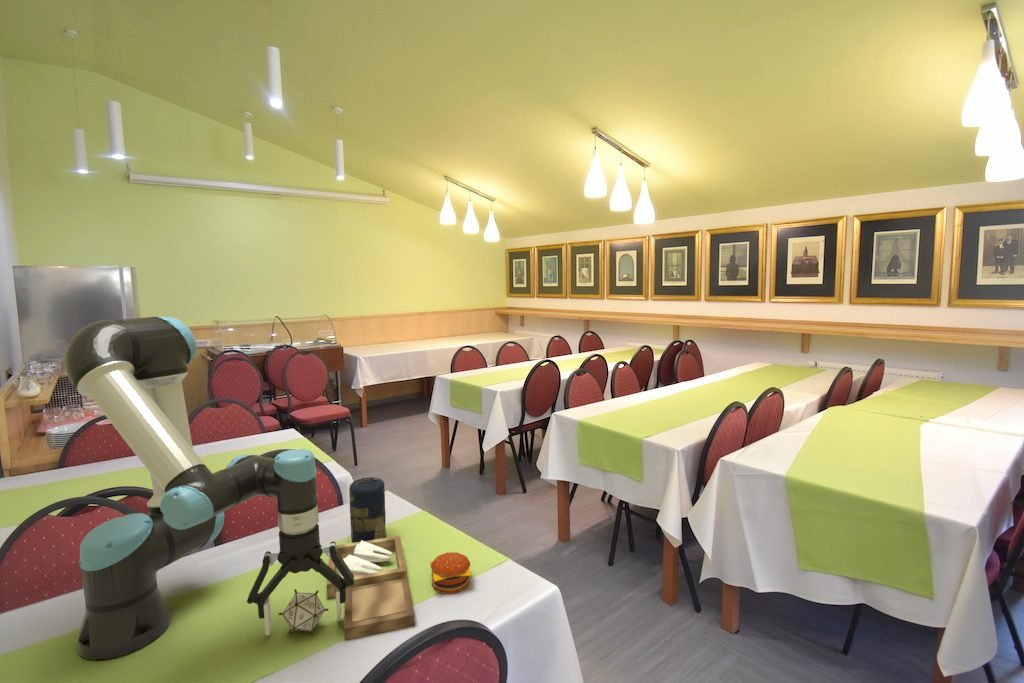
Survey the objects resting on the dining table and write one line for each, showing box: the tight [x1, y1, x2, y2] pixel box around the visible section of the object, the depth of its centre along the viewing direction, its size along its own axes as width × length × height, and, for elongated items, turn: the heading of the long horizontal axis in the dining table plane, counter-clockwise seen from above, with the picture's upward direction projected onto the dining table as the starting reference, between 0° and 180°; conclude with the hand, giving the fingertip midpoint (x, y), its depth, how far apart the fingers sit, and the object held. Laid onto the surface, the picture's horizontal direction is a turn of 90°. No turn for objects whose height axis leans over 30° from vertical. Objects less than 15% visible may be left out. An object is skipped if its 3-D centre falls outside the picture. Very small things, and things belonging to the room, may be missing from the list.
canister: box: [348, 477, 387, 543], centre depth 140 cm, size 10×10×18 cm
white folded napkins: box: [336, 540, 394, 578], centre depth 126 cm, size 12×4×11 cm
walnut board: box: [343, 577, 416, 641], centre depth 110 cm, size 14×14×3 cm
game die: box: [277, 588, 330, 636], centre depth 105 cm, size 9×8×10 cm
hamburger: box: [429, 551, 472, 594], centre depth 121 cm, size 9×10×7 cm
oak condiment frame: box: [326, 535, 408, 600], centre depth 126 cm, size 18×18×4 cm
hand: (304, 623), depth 105 cm, fingers open, 13 cm apart
